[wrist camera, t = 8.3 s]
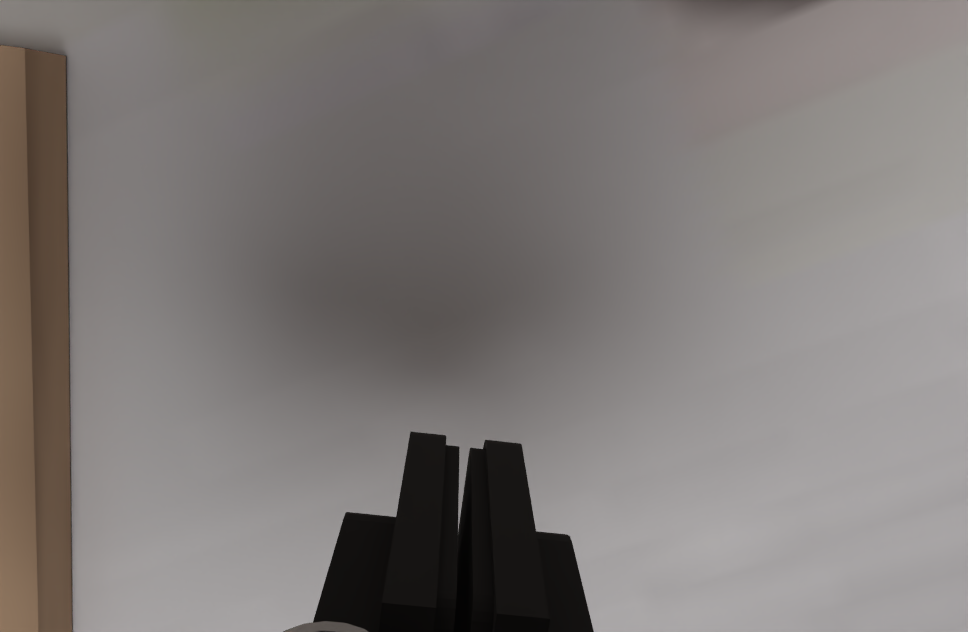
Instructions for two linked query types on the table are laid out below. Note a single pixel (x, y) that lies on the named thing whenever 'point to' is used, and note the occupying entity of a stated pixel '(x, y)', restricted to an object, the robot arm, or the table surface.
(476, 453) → the robot arm
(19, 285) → the shaft bracket
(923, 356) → the table surface
